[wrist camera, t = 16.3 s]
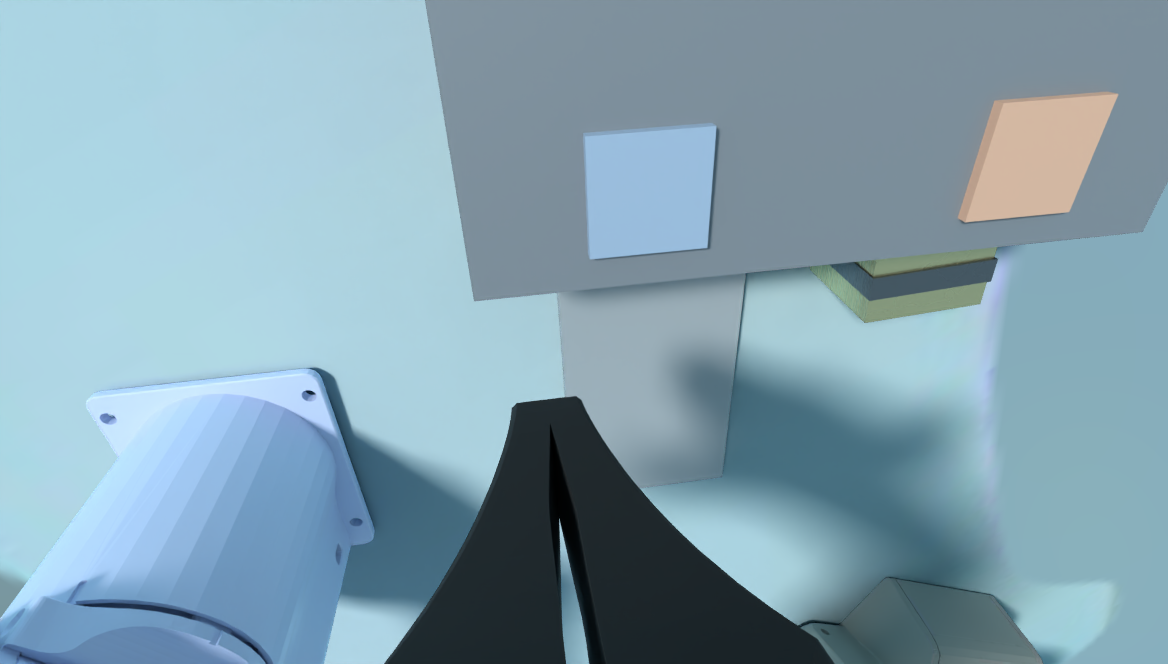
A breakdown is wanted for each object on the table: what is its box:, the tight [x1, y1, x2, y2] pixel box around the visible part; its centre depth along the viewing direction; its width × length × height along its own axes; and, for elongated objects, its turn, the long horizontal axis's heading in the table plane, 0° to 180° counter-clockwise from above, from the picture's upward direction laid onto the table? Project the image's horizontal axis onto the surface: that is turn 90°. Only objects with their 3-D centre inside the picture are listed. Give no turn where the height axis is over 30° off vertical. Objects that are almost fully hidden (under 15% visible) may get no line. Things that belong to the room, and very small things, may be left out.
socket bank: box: [425, 0, 1168, 301], centre depth 16 cm, size 8×19×6 cm, turn 92°
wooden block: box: [810, 247, 998, 323], centre depth 19 cm, size 9×4×4 cm, turn 6°
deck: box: [557, 273, 746, 488], centre depth 25 cm, size 11×7×1 cm, turn 2°
